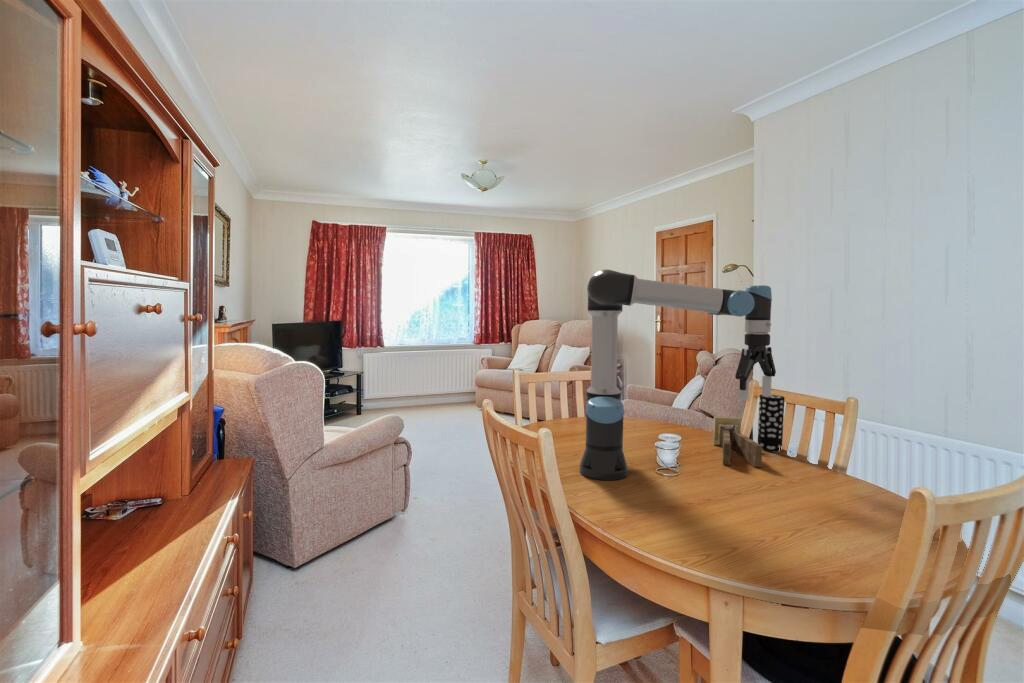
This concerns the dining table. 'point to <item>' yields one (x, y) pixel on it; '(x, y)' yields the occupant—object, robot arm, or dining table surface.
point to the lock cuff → (724, 421)
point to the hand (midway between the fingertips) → (755, 397)
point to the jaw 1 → (726, 447)
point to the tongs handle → (720, 435)
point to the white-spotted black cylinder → (771, 422)
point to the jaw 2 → (746, 448)
